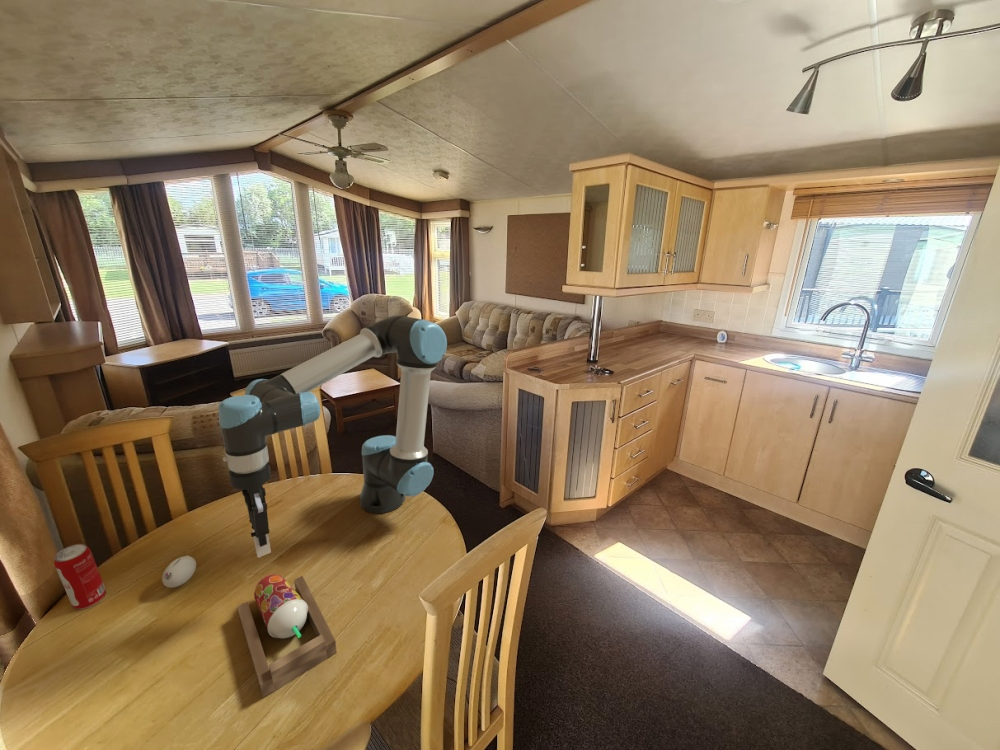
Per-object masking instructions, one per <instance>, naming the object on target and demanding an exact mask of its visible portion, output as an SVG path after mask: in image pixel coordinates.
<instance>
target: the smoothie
mask: <svg viewBox="0 0 1000 750" xmlns="http://www.w3.org/2000/svg"><path fill="white" fill-rule="evenodd" d="M253 598H254V601H255V602H256V605H257V607H258V610H259V612H260V615H261V617H262V620H263V622H264V624H265V627H266V630H267V632H268V635H269V636H271V637H272V638H274V639H289V638H291V637H294V636H297V638H298V639H300V638H301V637H302V634H301V632H300V631H301V630H302V629H303V627H304V625H305V624H306V621H307V619H308V616H307V613H308V605H307V603H306V602H305V601H304V600H303V599H302V598H301V597H300V596H299V594H298V593H297V592H296V590H295V589H294V588H293V587H292V585H291V584H290V583H289V582H288V580H286V578H284V576H282V575H280V574H275V573H274V574H269V575H267V576H264V577H263V578H261V580H259V582H257V585H256V586H255V590H254V593H253Z"/></svg>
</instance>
